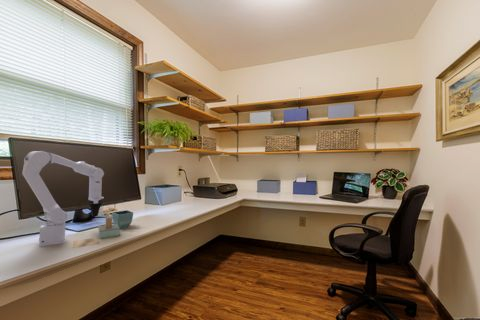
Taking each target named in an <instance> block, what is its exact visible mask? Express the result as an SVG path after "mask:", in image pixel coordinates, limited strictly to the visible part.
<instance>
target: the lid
mask: <svg viewBox="0 0 480 320" xmlns="http://www.w3.org/2000/svg"><path fill="white" fill-rule="evenodd" d="M104 218H105V222H104V225H98V226H97V229H98V230H99V232H105V231H112V230H119V226H118V224H114V223H113V217H112V216H106V217H104ZM98 230H97V231H98Z"/></svg>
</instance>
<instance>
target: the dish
mask: <svg viewBox="0 0 480 320" xmlns="http://www.w3.org/2000/svg"><path fill="white" fill-rule="evenodd" d="M97 233H98V240H99V239H100V240H101V239H105V238H112V237H113V238H114V237H118V236H120V233H121V229H119V230H112V231H105V232H99V230H97Z"/></svg>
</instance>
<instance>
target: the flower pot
mask: <svg viewBox="0 0 480 320" xmlns="http://www.w3.org/2000/svg"><path fill="white" fill-rule="evenodd" d="M111 213H112V216H111V217H112V223H113V224H118V226H119V229H120V230H121V229H125V228H129V227H130V226H131V224H132V222H133V218H134V211H130V210H121V211H113V212H111Z"/></svg>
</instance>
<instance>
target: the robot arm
mask: <svg viewBox="0 0 480 320" xmlns="http://www.w3.org/2000/svg"><path fill="white" fill-rule="evenodd" d="M23 162H24V163H23V168H22V172H21V174H22V177H24V179H25V181H26V182H27V184H28V185H29V188H30V189H31V190H32V192H33V193H34V196H36V198H37V200H38V202H39V203H40V205H41V207H42V210H43V213H44V219H45V220H46V222H45V224H41V225H40V226H39V238H38V241H39V245H38V246H39V247H44V246H45V247H46V246H51V245H52V246H53V245H58V244H64V243H66V242H67V236H66V221H67V219H68V213H67V212H66V211H65V210H63V209H62V208H61V207H60V206H59V204H58V203H57V202H56V200H55V199H54V196H53V195H52V194H51V192H50V190H49V188H48V187H47V185H46V183H45V181H44V180H43V178H42V176H41V175H40V172H41V171H42V170H43V168H44V167H45V166H46V165H48V164H57V165H62V166H65V167H69V168H71V169H72V170H73V171H74V172H75V173H78V174H81V175H83V176H87V177H89V178H88V179H89V182H88V184H89V185H88V198H87V199H88V204H89V207H90V209H91V213H92V217H98V216H99V214H100V213H99V212H100V208H101V206H102V204H103V203H102V202H101V200H103V199H104V198H105V197H104V196H102V187H103V186H102V185H103V183H102V182H103V177H104V175H105V172H104V170H103V169H102V168H101V167H96V166H95V165H94V164H92V165H91V164H88V163H86V161H84V160H82V161H73V160H71V159H68V158H65V157H63V156H61V155H58V154H55V153H52V152H47V151H45V150H39V151H37V150H33V151H30V152H28V153H27V154H26V156H25V157H24V158H23Z"/></svg>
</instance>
